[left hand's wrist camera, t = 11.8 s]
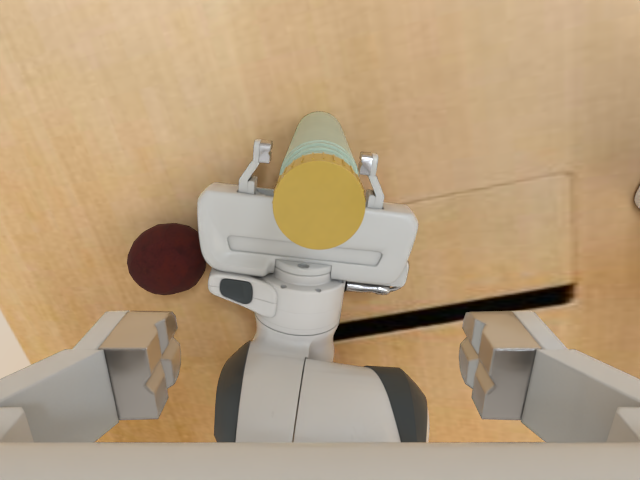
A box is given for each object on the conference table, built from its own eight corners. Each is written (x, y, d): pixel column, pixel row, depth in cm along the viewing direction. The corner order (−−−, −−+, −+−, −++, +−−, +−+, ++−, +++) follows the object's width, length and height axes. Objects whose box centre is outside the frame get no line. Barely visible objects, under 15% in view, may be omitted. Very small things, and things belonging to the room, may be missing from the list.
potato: (130, 243, 47) (100, 271, 41) (179, 198, 45) (155, 220, 39) (180, 289, 49) (159, 322, 43) (229, 248, 47) (214, 276, 41)
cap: (266, 224, 23) (261, 238, 21) (287, 141, 21) (284, 147, 19) (347, 245, 23) (350, 261, 21) (374, 165, 22) (379, 174, 20)
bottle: (290, 152, 44) (260, 236, 21) (302, 105, 42) (283, 143, 20) (335, 164, 44) (351, 259, 22) (348, 119, 43) (381, 171, 20)
